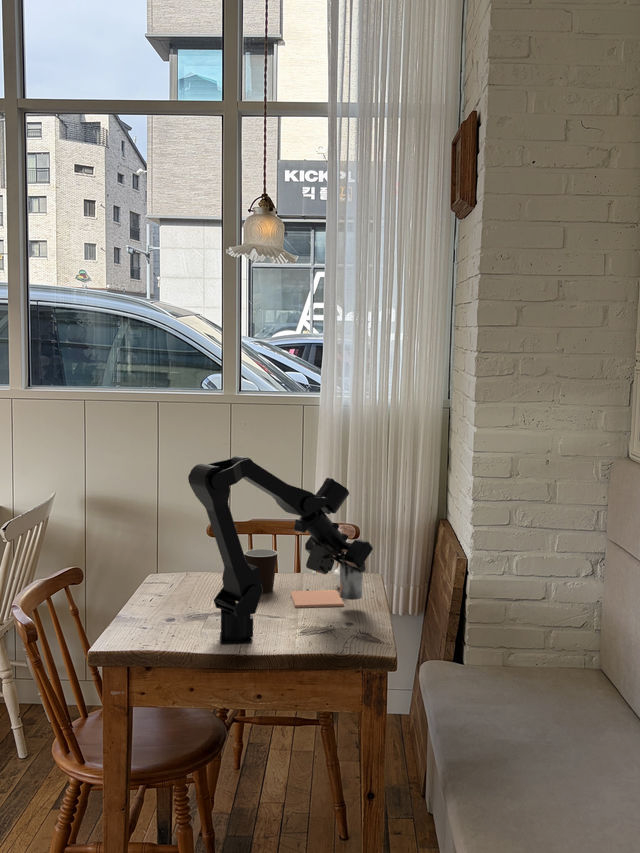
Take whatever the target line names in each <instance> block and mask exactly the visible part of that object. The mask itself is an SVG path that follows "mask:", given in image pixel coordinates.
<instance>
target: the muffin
mask: <svg viewBox="0 0 640 853" xmlns="http://www.w3.org/2000/svg"><path fill="white" fill-rule="evenodd" d="M333 576H334V580H335V581H336V583H337V585H338V588H340V564H339V563H338V567H337V568H336V569H335V570H334V571H333Z"/></svg>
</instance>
